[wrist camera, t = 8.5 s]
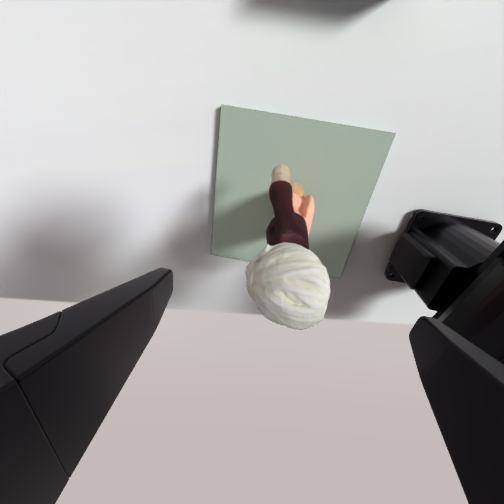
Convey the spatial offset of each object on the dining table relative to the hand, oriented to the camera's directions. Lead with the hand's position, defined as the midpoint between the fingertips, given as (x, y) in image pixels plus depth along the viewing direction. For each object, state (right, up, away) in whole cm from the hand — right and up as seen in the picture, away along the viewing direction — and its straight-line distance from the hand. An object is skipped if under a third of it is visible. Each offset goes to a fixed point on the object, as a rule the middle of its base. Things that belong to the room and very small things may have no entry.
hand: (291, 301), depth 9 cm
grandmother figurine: (+1, +6, +11) cm, 12 cm away
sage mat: (+2, +6, +11) cm, 13 cm away
